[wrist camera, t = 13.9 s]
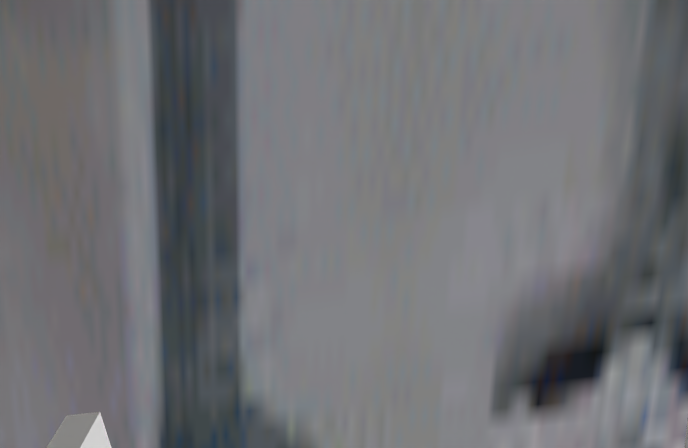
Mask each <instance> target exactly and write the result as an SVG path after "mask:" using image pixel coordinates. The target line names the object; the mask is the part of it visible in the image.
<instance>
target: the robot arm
mask: <svg viewBox="0 0 688 448" xmlns="http://www.w3.org/2000/svg"><path fill="white" fill-rule="evenodd" d="M46 448H111V445H110V442H109V439H108V436H107V433H106V430H105V427H104V423H103V420H102V417H101V414H100V412H95V413H85V414H76V415H66V417H65V419H64V420H63V422H62V423H61V425H60V427H59V428H58V430H57V431H56V433H55V435H54V436H53V438H52V439H51V441H50V443H49V444H48V446H47V447H46ZM685 448H688V420H687V430H686V440H685Z"/></svg>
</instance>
